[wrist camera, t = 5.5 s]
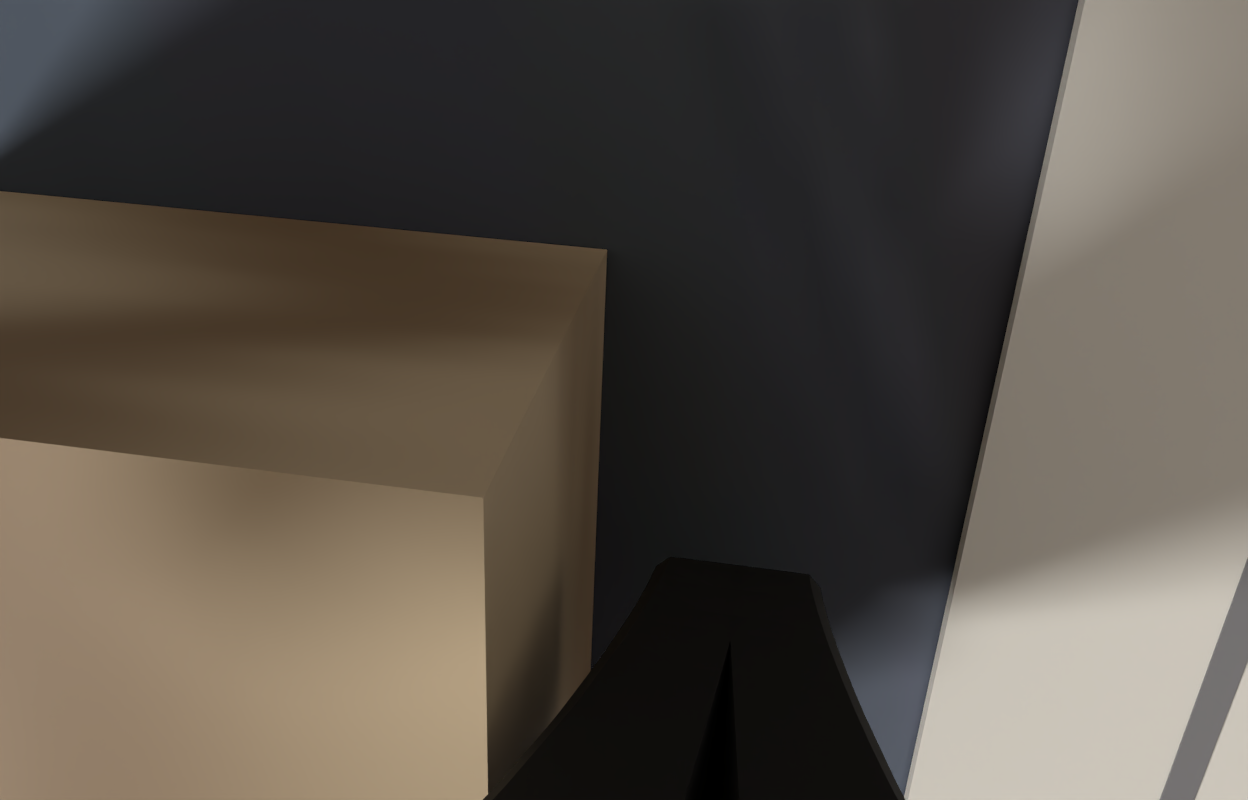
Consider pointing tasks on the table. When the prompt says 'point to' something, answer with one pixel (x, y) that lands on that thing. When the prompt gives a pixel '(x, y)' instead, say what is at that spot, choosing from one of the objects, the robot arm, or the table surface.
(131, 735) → the oak block
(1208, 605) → the letter
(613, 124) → the table surface
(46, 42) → the table surface
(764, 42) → the table surface
